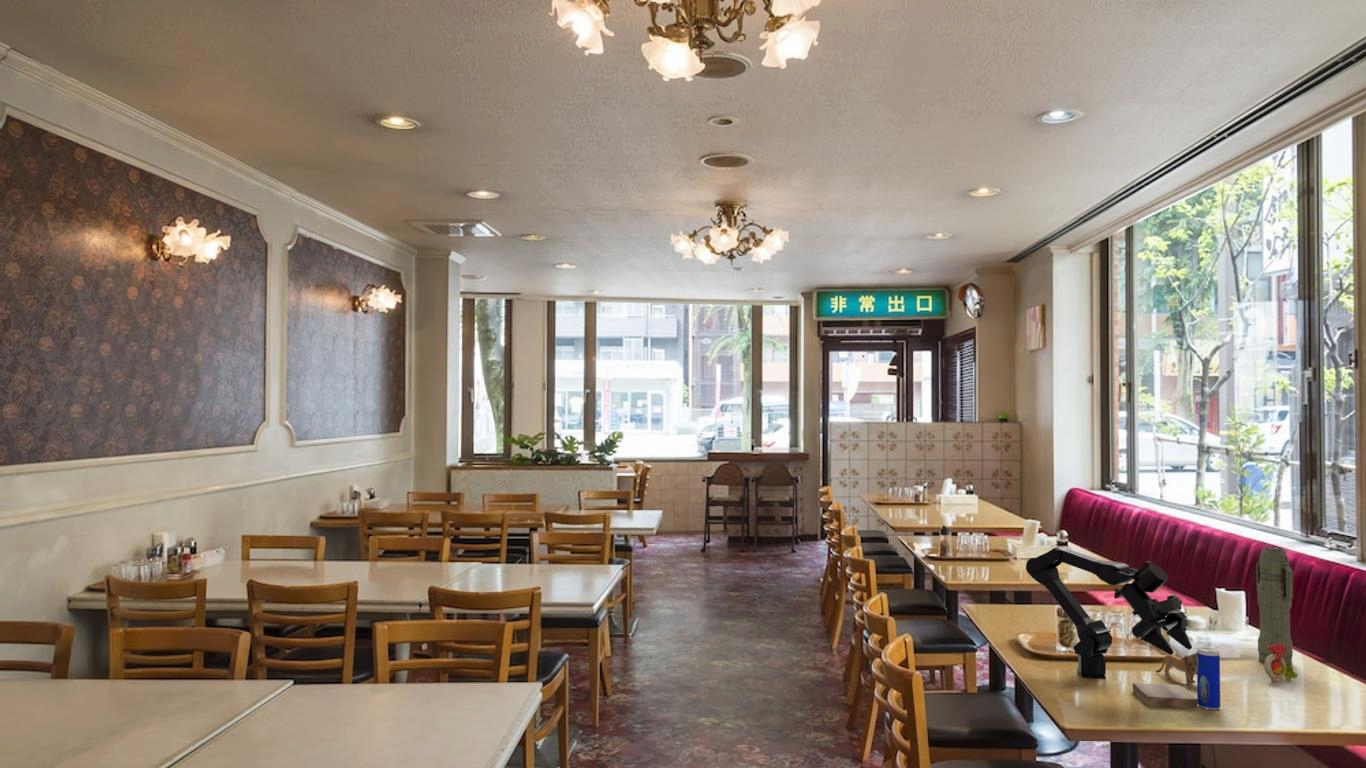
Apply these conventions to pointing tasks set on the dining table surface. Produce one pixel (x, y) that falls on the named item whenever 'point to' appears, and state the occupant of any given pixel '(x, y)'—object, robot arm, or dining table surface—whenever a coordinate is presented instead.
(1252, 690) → the dining table surface
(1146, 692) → the walnut base board
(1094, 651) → the robot arm
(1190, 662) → the lion figurine
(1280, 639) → the grey-green panelled tower
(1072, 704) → the dining table surface
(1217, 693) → the beverage can
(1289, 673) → the bird rattle
